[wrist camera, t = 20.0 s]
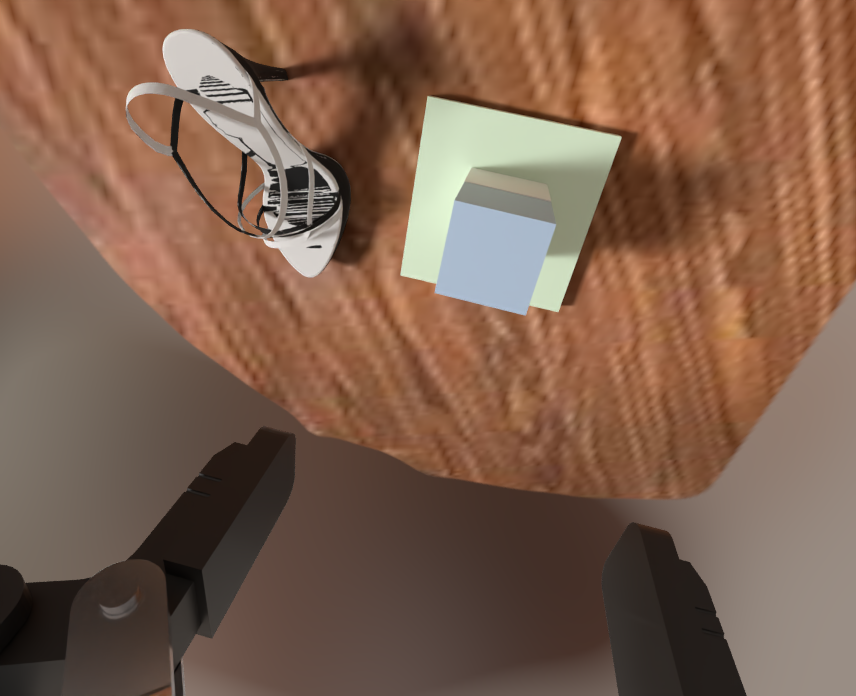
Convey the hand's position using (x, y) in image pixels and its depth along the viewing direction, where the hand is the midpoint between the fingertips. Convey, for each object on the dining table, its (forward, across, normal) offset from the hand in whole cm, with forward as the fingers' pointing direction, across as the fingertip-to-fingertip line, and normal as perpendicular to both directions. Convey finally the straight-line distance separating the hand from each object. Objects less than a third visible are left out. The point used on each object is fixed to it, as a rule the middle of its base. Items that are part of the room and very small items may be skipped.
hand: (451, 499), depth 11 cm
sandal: (+28, +16, 0) cm, 32 cm away
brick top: (+22, 0, 0) cm, 22 cm away
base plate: (+28, 0, 0) cm, 28 cm away
